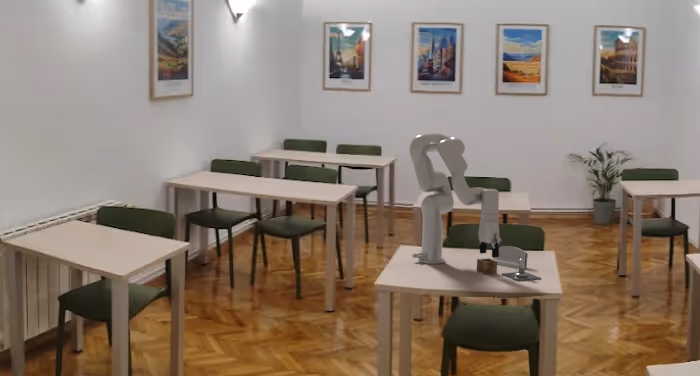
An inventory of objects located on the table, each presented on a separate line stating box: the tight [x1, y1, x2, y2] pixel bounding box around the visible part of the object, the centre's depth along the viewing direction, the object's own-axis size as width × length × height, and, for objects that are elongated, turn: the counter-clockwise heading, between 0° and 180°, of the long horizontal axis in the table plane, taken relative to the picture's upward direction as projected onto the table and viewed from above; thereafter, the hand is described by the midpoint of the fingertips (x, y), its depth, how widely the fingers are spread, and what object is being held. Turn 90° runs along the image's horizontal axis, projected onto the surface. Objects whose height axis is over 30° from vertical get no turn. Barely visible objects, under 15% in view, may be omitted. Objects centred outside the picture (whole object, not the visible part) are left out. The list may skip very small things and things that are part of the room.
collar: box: [476, 258, 498, 275], centre depth 354 cm, size 6×6×6 cm
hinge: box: [491, 245, 529, 270], centre depth 369 cm, size 17×5×10 cm, turn 49°
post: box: [501, 258, 542, 282], centre depth 347 cm, size 12×12×8 cm
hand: (489, 255), depth 353 cm, fingers open, 9 cm apart
